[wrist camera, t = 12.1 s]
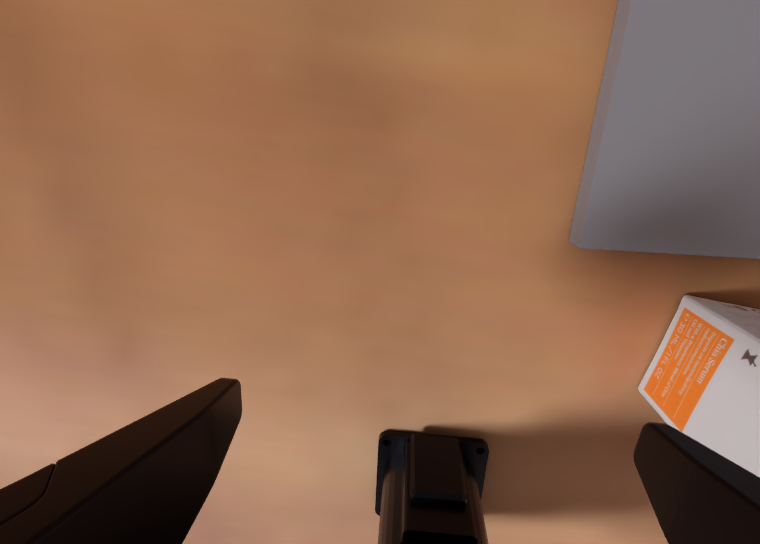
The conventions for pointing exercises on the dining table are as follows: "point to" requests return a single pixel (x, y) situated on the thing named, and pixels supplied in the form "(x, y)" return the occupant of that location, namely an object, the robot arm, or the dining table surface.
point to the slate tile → (676, 133)
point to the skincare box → (711, 378)
